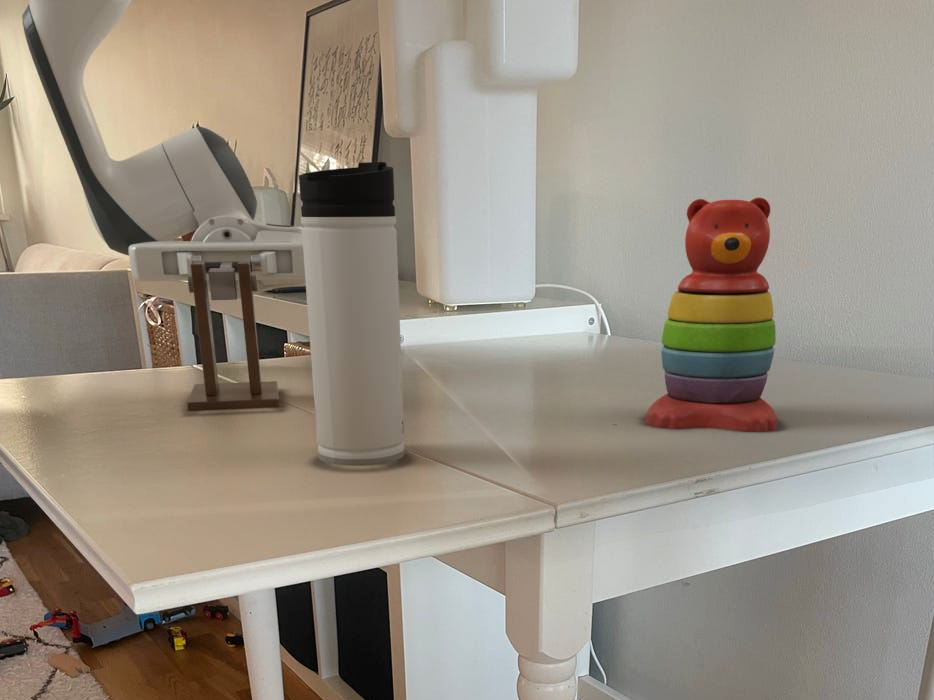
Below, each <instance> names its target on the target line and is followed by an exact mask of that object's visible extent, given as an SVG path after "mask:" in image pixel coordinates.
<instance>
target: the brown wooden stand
mask: <svg viewBox="0 0 934 700" xmlns="http://www.w3.org/2000/svg"><path fill="white" fill-rule="evenodd" d="M238 273H239V283H240V293H241V298H240V302H241V312H242V323H243V333H244V342H245V353H246V361H247V373H248V381H247V382H245V381H244V382H221V383H219V375H218V367H217V358H216V351H215V350H216V348H215V340H214V339H215V338H214V330H213V323H212V322H213V321H212V313H211V303H210V296H209V295H210V294H209V291H208V285H207V277H206V268H205V262H193V263H192V264H191V274H192V276H188V281H187V286H188V292H189V294H193V297H194V298H193V299H194V307H195V314H196V323H197V324H196V325H197V332H198V340H199V341H198V342H199V348H200V350H199V351H200V357H201V366H202V375H203V382H204V383H194V385H193V387H192V389H191V392H190V394H189V398H188V400H187V403H186V405H187V411H188V412H200V411H201V412H202V411H221V410H243V409H244V410H246V409H247V410H248V409H249V410H250V409H269V408H272V409H273V408H280V399H279V389H278V388H279V387H278V381H277V380H275V381H274V380H272V381H262V375H261V365H260V355H259V344H258V334H257V324H256V323H257V322H256V311H255V301H254V295H253V292H257V291H258V286H257V276H256V275H251V269H250V261H239V262H238Z"/></svg>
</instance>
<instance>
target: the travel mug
mask: <svg viewBox="0 0 934 700" xmlns="http://www.w3.org/2000/svg"><path fill="white" fill-rule="evenodd" d="M394 176H395V175H394V167H392V166H387V162H385V161H367V162H366V161H365V162H364V161H363V162H358V164H357V166H356V167H355V166H354V167H345V168H343V167H342V168H333V169H324V170H316V171H309V172H304V173H300V174H299V175H298V184H299V195H300V196H299V198H300V201H301V202H302V205H301V207H300V212H301V216H300V223H301V225H302V227H303V228H304V229H303V230H302V239H303V253H304V267H305V280H306V286H305V291H306V293H305V294H306V307H307V320H308V334H309V348H310V360H311V376H312V387H313V389H312V391H313V401H314V402H313V403H314V415H315V416H314V417H315V418H314V419H315V430H316V440H317V443H318V445H317V456H318V457H317V458H318V459H319V460H320V461H322V462H324V463H326V464H332V465H337V466H338V465H339V466H354V467H355V466H357V467H358V466H374V465H381V464H388V463H392V462H395V461H398V460H401V459H402V458H404V456H405V443H404V439H405V433H404V431H405V429H404V428H405V427H404V404H403V403H404V402H403V398H404V397H403V376H402V374H403V372H402V347H401V345H402V344H401V343H402V342H401V321H400V319H401V317H400V316H401V315H400V292H399V291H400V290H399V264H398V235H397V234H398V233H397V232H398V231H397V229H396V228H395V225H396V224H397V216H396V207H395V205H394V201H395V179H394V178H395V177H394Z"/></svg>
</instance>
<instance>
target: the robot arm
mask: <svg viewBox="0 0 934 700" xmlns="http://www.w3.org/2000/svg"><path fill="white" fill-rule="evenodd" d="M28 3H29V4H28V5H27V6H26V8H25V10H24V11H23V12H22V13H23V14H22V15H21V18H22V27H23V32H24V33H23V34H24V37H25V40H26V44H27V47H28V50H29V53H30V56H31V59H32V61H33V64H34V67H35V70H36V72H37V75H38V78H39V80H40V82H41V86H42V88H43V91H44V93H45V96H46V98H47V101H48V103H49V106H50V108H51V112H52V113H53V117H54V119H55V121H56V124H57V126H58V128H59V131H60V134H61V136H62V138H63V141H64V143H65V146H66V148H67V151H68V154H69V156H70V159H71V161H72V164H73V166H74V168H75V171H76V173H77V176H78V179H79V182H80V184H81V187H82V190H83V191H82V192H83V194H84V199H85V204H86V207H87V211H88V214H89V217H90V220H91V222H92V225H93V227H94V228H95V230H96V232H97V234H98V235H99V237H100V238H101V240H102V241H103V242H104V243H105V244H106V245H107V247H108V248H109V249H110V250H112V251H114V252H117V253H119V254H122V255H125V256H128V258H129V259H128V260H129V265H130V272H131V276H132V277H131V278H132V279H133V280H134V281H137V282H188V276H192V274H191V264H192V263H193V262H231V261H251V262H252V272H251V275H256V276H257V286H258V291H257V292H253V296H254V295H257V294H260V293H263V292H267V291H270V290H273V291H274V290H281V289H291V288H292V289H293V288H298V287H306V280H305V267H304V253H303V239H302V230H303V229H304V227H303V226H294V225H287V224H286V225H284V224H275V223H273V224H272V223H263V222H260V221H257V220H255V218H256V214H257V208H258V200H257V197H256V193H255V192H254V189H253V187H252V184H251V182H250V179H249V177H248V175H247V173H246V172H245V169H244V167H243V165H242V164H241V162H240V160H239V158H238V157H237V155H236V153H235V152H234V150H233V149H232V148H231V146H230V144H229V143H228V142H227V140H226V139H225V138H224V137H222V136H221V135H220V134H218V133H216V132H215V131H213V130H211V129H209V128H207V127H203V126H199V125H196V126H194V127H192V128H190V129H188V130H185V131H183V132H181V133H178V134H176V135H173V136H171V137H169V138H167V139H165V140H163V141H161V142H160V143H158V144H156V145H154V146H151V147H150V148H147V149H145V150H143V151H140V152H139V153H136V154H134V155H132V156H129V157H128V158H126V159H122V160H115V159H113V158H111V157H110V155H109V153H108V150H107V148H106V145H105V142H104V139H103V137H102V134H101V131H100V129H99V127H98V126H99V125H98V124H97V121H96V118H95V116H94V112H93V110H92V108H91V105H90V102H89V99H88V96H87V94H86V90H85V87H84V73H85V69H86V66H87V64H88V62H89V60H90V58H91V56H92V55H93V53H94V52H95V50H96V49H97V48H98V46H100V44H101V43H102V41H103V40H104V39H105V38H106V37H107V36H108V35H109V33H110V32H111V31H112V30H113V29H114V28H115V26H116V25H117V24H118V23H119V21H120V20H121V19H122V18H123V16H124V15H125V12H126V11H127V10H128V8H129V6H130V4H131V3H132V0H28ZM191 232H194V233H193V235H192V237H191V240H189V241H187V240H186V241H180V240H179V241H176V239H179V238H181V237H184V236H185V235H188V234H190V233H191ZM206 277H207V285H208V292H209V293H211V291H210V282H209V274H208V273H206ZM235 278H236V287H237V300H238V299H241V293H240V283H239V273H235Z"/></svg>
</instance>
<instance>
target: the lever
mask: <svg viewBox="0 0 934 700" xmlns="http://www.w3.org/2000/svg"><path fill="white" fill-rule="evenodd" d="M238 262H239V261H231V262H205V268H206V273H208V274H209V282H210V291H211V292H210V291H209V292H210V299H211V301H235V300H238V299H237V287H236V278H235V273H238ZM250 269H251V272H252V262H251V261H250Z"/></svg>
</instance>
